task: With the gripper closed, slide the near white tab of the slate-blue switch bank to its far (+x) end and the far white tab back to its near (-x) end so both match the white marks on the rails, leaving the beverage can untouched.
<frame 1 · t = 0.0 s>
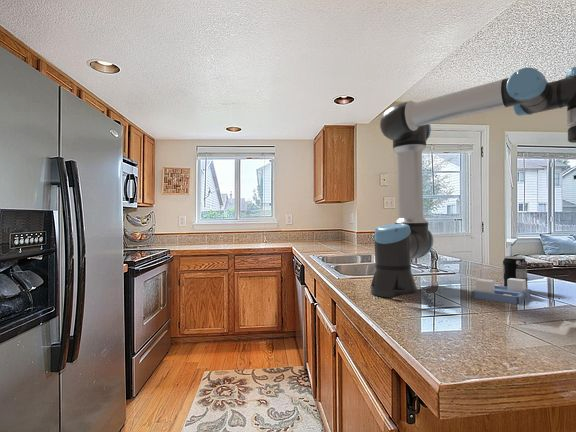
tab near: (485, 288, 102), point 4 cm above the counter, slide at 0.0 cm
tab far: (516, 287, 102), point 4 cm above the counter, slide at 6.4 cm, touching switch bank
beverage can: (515, 294, 111), on the counter
switch bank: (501, 300, 102), on the counter
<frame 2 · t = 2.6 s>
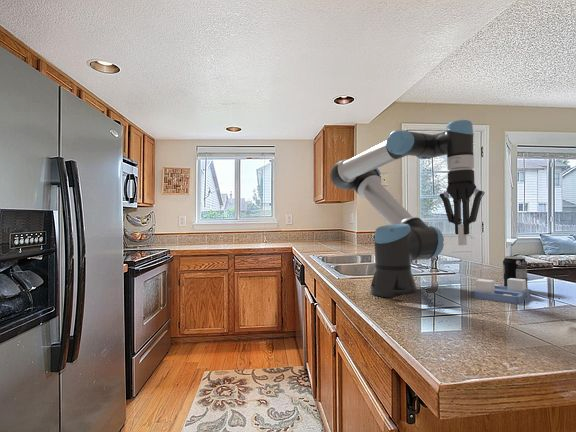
hand: (462, 244, 106), 17 cm above the counter, fingers closed
nothing on the counter moved.
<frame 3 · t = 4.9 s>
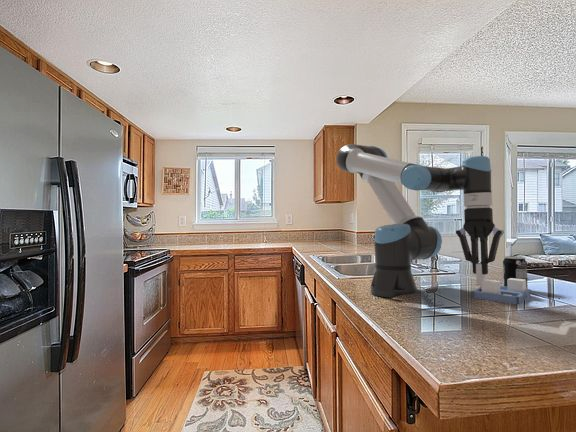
hand: (480, 284, 102), 5 cm above the counter, fingers closed
tab near: (491, 289, 101), point 4 cm above the counter, slide at 1.6 cm, touching gripper
everything else where it was.
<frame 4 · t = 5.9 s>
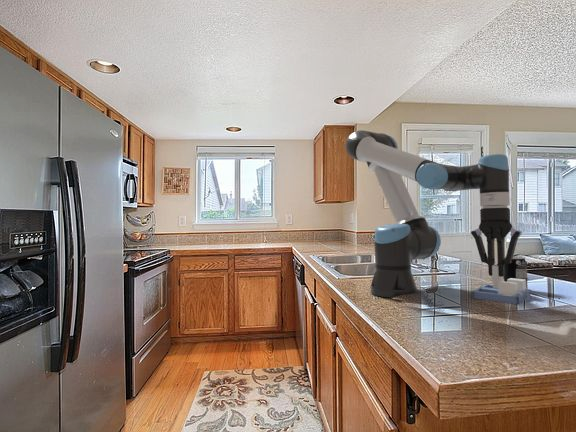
hand: (496, 287, 99), 5 cm above the counter, fingers closed
tab near: (507, 291, 97), point 4 cm above the counter, slide at 5.8 cm, touching gripper
everything else where it was.
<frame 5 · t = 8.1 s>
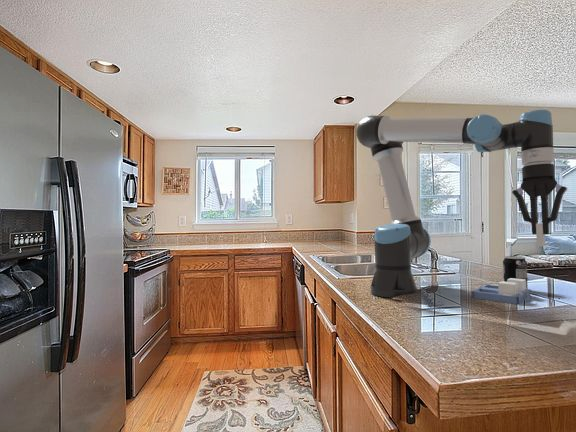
hand: (541, 245, 98), 17 cm above the counter, fingers closed
tab near: (508, 291, 97), point 4 cm above the counter, slide at 5.9 cm
everything else where it was.
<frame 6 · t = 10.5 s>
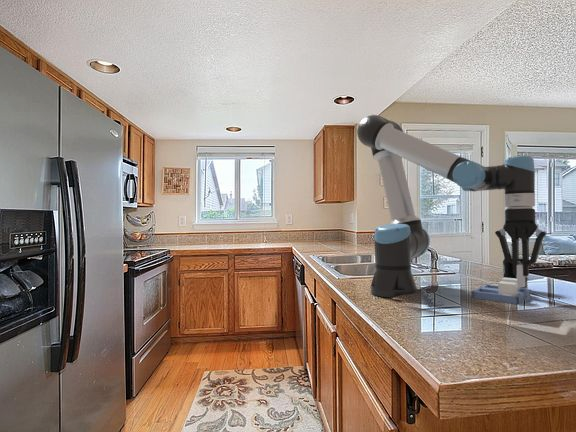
hand: (521, 286, 101), 4 cm above the counter, fingers closed
tab far: (510, 287, 103), point 4 cm above the counter, slide at 4.8 cm, touching gripper
everything else where it was.
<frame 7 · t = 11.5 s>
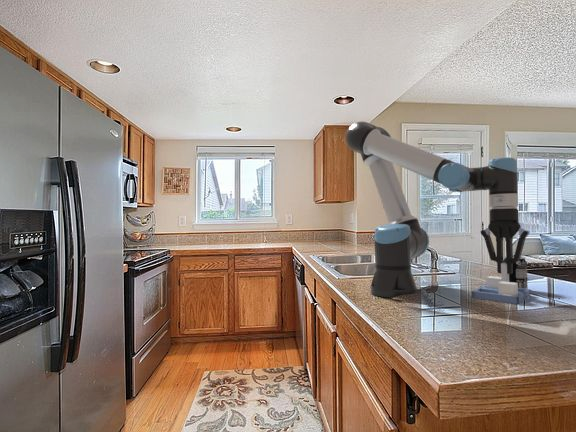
hand: (505, 284, 104), 5 cm above the counter, fingers closed
tab far: (495, 285, 106), point 4 cm above the counter, slide at 0.7 cm, touching gripper
everything else where it was.
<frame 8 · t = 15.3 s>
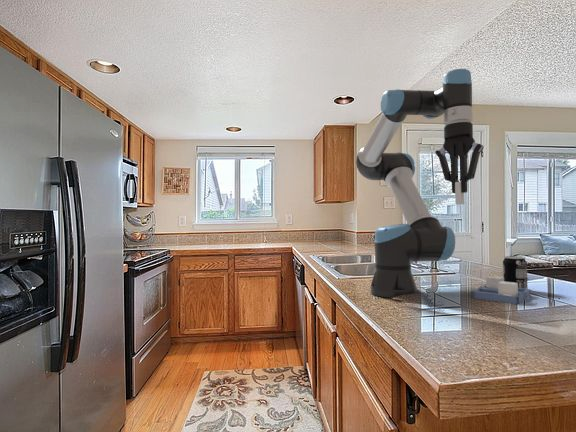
hand: (459, 204, 99), 29 cm above the counter, fingers closed
tab far: (495, 285, 106), point 4 cm above the counter, slide at 0.7 cm
everything else where it was.
at the end: tab near slide at 5.9 cm; tab far slide at 0.7 cm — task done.
